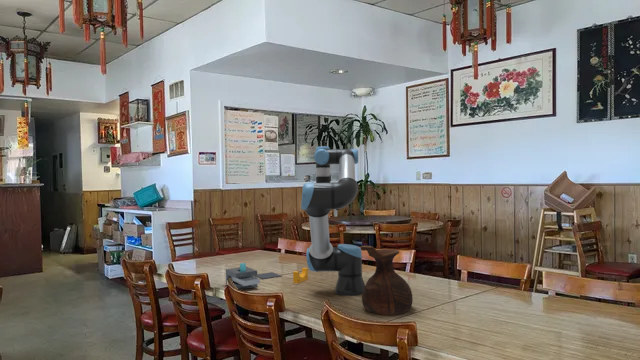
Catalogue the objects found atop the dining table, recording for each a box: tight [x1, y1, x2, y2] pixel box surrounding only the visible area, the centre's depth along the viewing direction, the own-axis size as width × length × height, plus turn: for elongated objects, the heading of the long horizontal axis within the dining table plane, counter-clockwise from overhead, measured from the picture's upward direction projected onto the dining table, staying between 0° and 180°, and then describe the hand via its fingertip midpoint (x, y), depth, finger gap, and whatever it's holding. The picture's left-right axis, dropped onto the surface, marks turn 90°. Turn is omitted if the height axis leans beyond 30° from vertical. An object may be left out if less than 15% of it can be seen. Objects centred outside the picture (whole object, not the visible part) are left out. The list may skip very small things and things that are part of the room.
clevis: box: [225, 266, 261, 290], centre depth 258 cm, size 20×12×8 cm, turn 33°
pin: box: [239, 262, 247, 271], centre depth 260 cm, size 3×3×12 cm
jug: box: [360, 245, 413, 316], centre depth 206 cm, size 22×22×30 cm
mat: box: [255, 271, 282, 280], centre depth 284 cm, size 12×12×1 cm
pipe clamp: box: [292, 267, 309, 284], centre depth 269 cm, size 12×4×6 cm, turn 153°
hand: (323, 216), depth 257 cm, fingers open, 13 cm apart
